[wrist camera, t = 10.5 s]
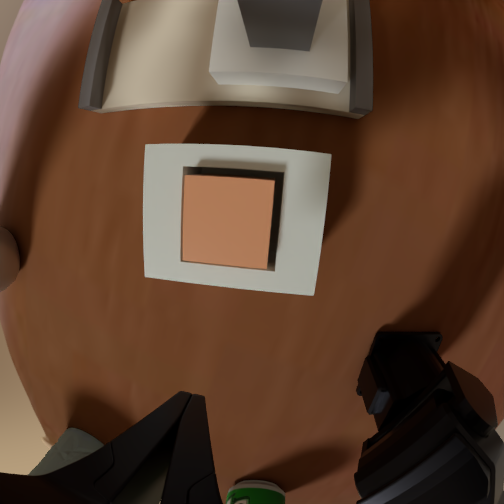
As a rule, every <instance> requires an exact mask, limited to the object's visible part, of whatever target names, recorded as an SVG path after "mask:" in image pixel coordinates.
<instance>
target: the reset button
mask: <svg viewBox="0 0 504 504" xmlns="http://www.w3.org/2000/svg"><path fill="white" fill-rule="evenodd" d="M275 179H276V178H268V177H256V176H242V175H227V174H208V173H205V174H193V175H185V181H184V206H183V260H185V261H194V262H203V263H213V264H222V265H232V266H242V267H251V268H261V269H267V263H268V255H269V247H270V236H271V225H272V214H273V203H274V191H275Z"/></svg>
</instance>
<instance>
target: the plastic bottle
mask: <svg viewBox="0 0 504 504" xmlns="http://www.w3.org/2000/svg"><path fill="white" fill-rule="evenodd" d="M19 269H20V255H19V250H18V246H17V244H16V241H15V239H14V237H13V236H12V234H11V233H10V232H9V231H8V230H7V229H5V228H3V227H2V226H0V291H3V290H5V289H6V288H7V287H8V286H10V285H11V284H12V283H13V282H14V281H15V279H16V277H17V275H18V272H19Z"/></svg>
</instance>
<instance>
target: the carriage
mask: <svg viewBox="0 0 504 504" xmlns="http://www.w3.org/2000/svg"><path fill="white" fill-rule="evenodd" d="M209 73H210V74H211V75H212V77H213V78H214V79H215V81H216V82H217V83H218V85H260V86H275V87H287V88H298V89H307V90H315V91H322V92H329V93H335V94H339V92H340V91H341V90H342V89H343V87H344V86H345V85H346V84H347V82H348V26H347V2H346V0H219V1H218V7H217V14H216V20H215V27H214V34H213V42H212V49H211V57H210V65H209Z"/></svg>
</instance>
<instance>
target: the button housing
mask: <svg viewBox="0 0 504 504" xmlns="http://www.w3.org/2000/svg"><path fill="white" fill-rule="evenodd" d="M331 155H332V154H326V153H318V152H310V151H301V150H292V149H282V148H270V147H257V146H241V145H220V144H145V160H144V185H143V244H144V269H145V277H151V278H158V279H165V280H173V281H180V282H188V283H196V284H204V285H213V286H221V287H230V288H239V289H248V290H258V291H268V292H278V293H289V294H300V295H312V296H314V290H315V284H316V278H317V272H318V265H319V259H320V252H321V245H322V237H323V230H324V222H325V214H326V205H327V196H328V187H329V177H330V166H331ZM205 173H208V174H227V175H242V176H256V177H268V178H276V179H275V191H274V203H273V214H272V225H271V236H270V247H269V255H268V263H267V269H261V268H251V267H242V266H232V265H222V264H213V263H203V262H194V261H185V260H183V206H184V181H185V175H193V174H205Z"/></svg>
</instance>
